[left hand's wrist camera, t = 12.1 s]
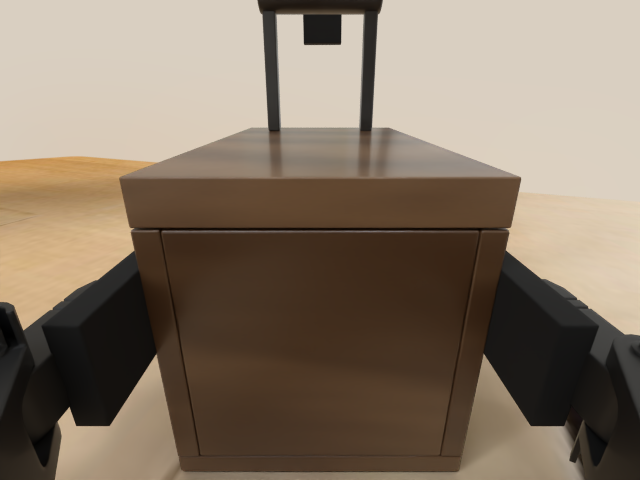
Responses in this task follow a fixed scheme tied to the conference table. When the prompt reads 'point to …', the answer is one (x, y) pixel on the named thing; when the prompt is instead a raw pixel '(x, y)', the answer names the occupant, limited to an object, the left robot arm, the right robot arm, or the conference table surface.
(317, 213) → the lid
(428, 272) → the chest
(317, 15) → the right robot arm
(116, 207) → the conference table surface
